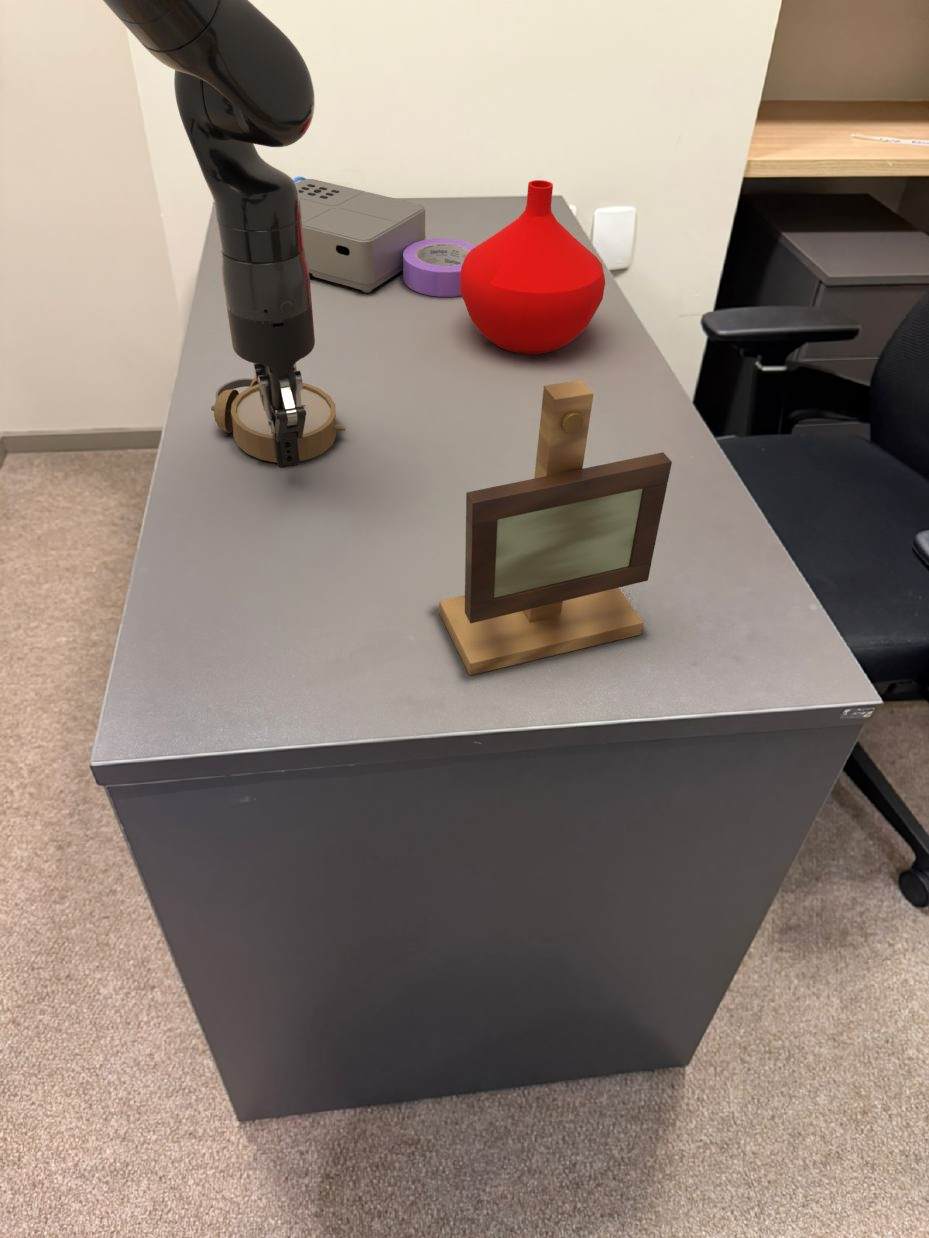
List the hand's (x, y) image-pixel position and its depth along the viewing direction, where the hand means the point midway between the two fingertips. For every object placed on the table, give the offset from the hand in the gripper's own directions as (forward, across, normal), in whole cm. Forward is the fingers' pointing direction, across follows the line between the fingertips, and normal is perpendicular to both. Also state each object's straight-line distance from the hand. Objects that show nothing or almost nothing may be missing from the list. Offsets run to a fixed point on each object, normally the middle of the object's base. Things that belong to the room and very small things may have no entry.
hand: (287, 463), depth 92 cm
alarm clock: (+2, -10, 0) cm, 10 cm away
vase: (+2, -23, +37) cm, 43 cm away
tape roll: (+2, -43, +32) cm, 54 cm away
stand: (+2, +28, +16) cm, 32 cm away
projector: (+2, -54, +19) cm, 57 cm away
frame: (-3, +30, +17) cm, 34 cm away
